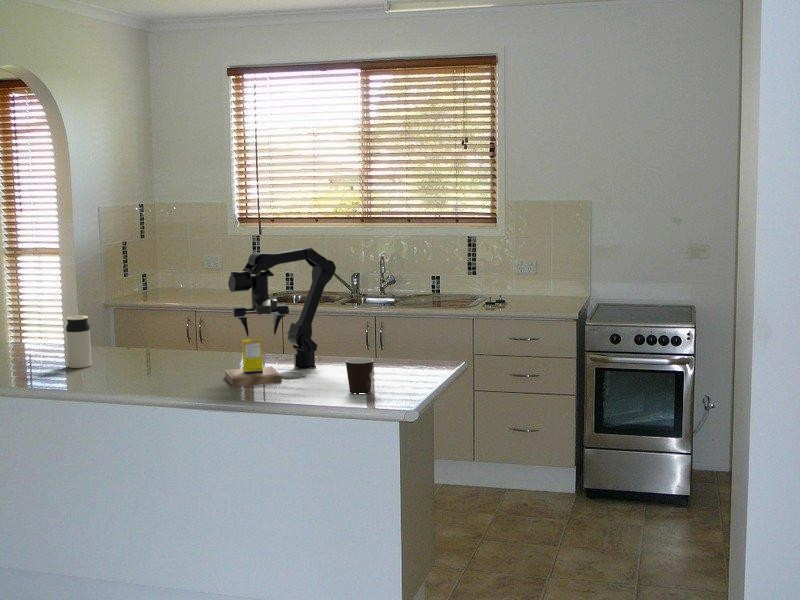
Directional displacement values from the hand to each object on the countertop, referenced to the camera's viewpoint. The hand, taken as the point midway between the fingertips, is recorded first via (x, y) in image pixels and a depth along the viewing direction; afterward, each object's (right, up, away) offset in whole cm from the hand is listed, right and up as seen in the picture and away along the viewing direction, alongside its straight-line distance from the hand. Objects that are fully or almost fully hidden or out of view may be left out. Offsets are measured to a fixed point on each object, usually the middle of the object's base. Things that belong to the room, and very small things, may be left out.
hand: (261, 335), depth 326 cm
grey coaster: (+11, -14, -4) cm, 18 cm away
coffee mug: (+36, -17, -28) cm, 48 cm away
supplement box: (-1, -12, -9) cm, 15 cm away
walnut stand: (-1, -14, -9) cm, 17 cm away
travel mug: (-68, -12, +19) cm, 72 cm away
